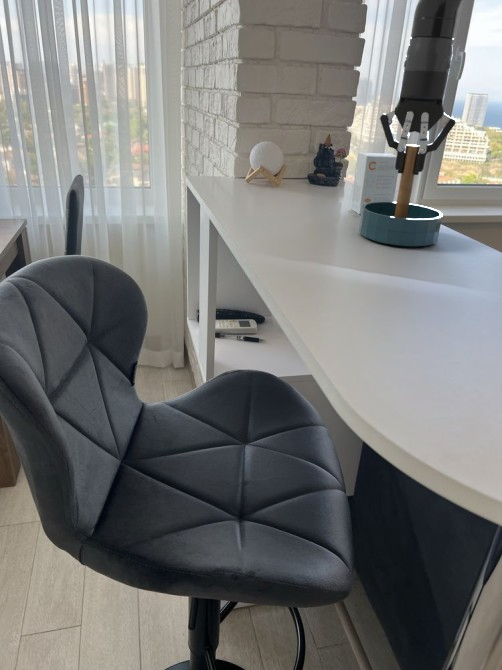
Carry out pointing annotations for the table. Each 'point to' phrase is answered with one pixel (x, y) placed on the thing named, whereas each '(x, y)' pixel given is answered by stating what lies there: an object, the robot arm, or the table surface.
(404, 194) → the wooden stick
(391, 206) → the bowl
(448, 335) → the table surface
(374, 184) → the small box
